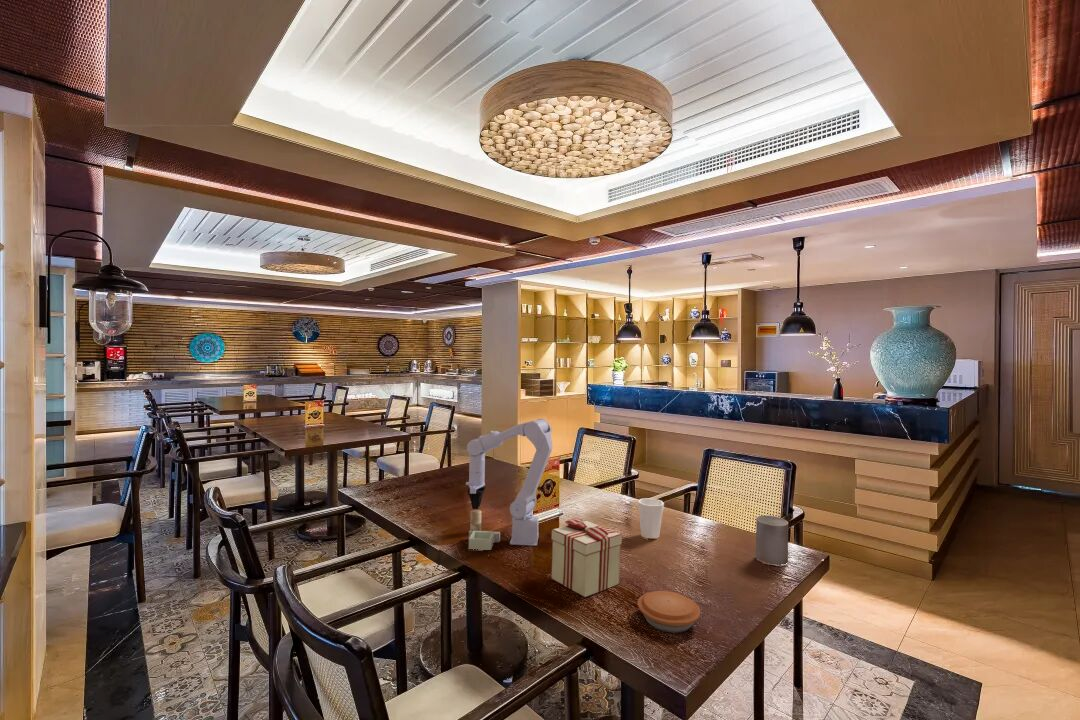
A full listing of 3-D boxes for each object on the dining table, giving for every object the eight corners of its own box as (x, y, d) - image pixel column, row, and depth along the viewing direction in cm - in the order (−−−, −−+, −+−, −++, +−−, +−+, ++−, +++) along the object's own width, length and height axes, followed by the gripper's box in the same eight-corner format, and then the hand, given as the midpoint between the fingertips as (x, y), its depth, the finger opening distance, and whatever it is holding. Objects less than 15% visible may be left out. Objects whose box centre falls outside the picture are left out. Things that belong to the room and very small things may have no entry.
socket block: (494, 543, 170) (494, 531, 170) (490, 551, 163) (490, 539, 163) (473, 542, 171) (473, 530, 171) (468, 550, 163) (468, 538, 163)
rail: (499, 540, 172) (500, 531, 172) (499, 542, 170) (499, 533, 170) (469, 538, 173) (469, 530, 173) (468, 540, 171) (468, 532, 171)
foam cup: (661, 543, 173) (662, 507, 173) (635, 539, 176) (636, 504, 176) (663, 534, 182) (664, 499, 182) (639, 530, 185) (639, 497, 185)
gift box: (628, 580, 144) (629, 522, 144) (588, 601, 131) (590, 538, 131) (584, 561, 156) (586, 508, 156) (544, 579, 143) (546, 521, 143)
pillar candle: (770, 553, 166) (771, 510, 166) (794, 564, 157) (795, 519, 157) (748, 557, 162) (749, 513, 162) (772, 569, 153) (773, 522, 153)
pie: (698, 644, 112) (698, 623, 112) (632, 629, 118) (632, 608, 118) (701, 612, 127) (702, 593, 127) (642, 600, 132) (643, 581, 132)
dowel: (481, 531, 181) (482, 509, 181) (479, 535, 177) (480, 513, 177) (471, 530, 181) (471, 509, 181) (469, 534, 177) (469, 512, 177)
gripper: (470, 466, 186) (469, 501, 186) (462, 475, 172) (461, 513, 172) (488, 467, 186) (487, 502, 186) (481, 476, 171) (480, 514, 171)
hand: (476, 507), depth 179 cm, fingers open, 3 cm apart
